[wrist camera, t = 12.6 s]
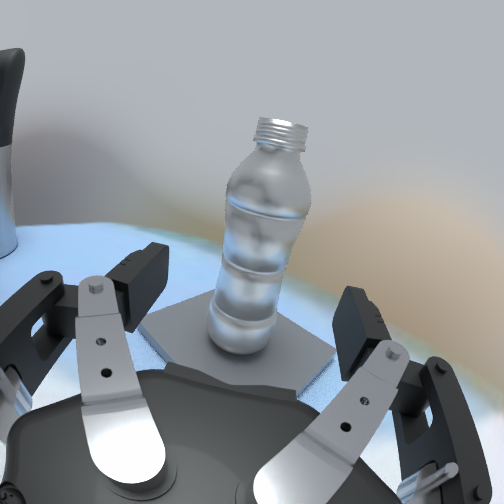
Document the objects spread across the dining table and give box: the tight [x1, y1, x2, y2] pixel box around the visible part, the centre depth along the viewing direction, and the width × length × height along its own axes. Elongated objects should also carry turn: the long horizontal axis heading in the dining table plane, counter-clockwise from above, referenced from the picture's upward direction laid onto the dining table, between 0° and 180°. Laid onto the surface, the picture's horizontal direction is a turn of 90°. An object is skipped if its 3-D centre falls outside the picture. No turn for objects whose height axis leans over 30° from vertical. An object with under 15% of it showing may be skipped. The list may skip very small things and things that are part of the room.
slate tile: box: [138, 289, 337, 397], centre depth 27 cm, size 16×14×2 cm
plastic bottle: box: [207, 117, 311, 355], centre depth 22 cm, size 6×7×20 cm
